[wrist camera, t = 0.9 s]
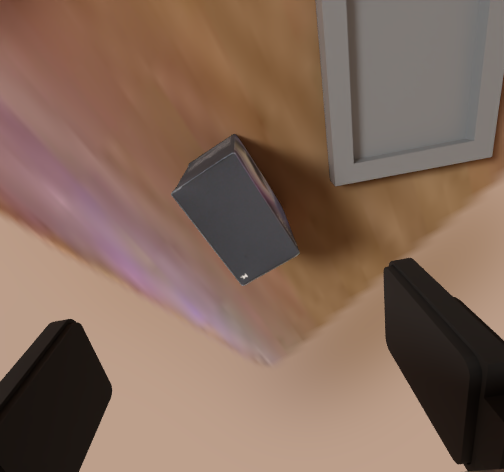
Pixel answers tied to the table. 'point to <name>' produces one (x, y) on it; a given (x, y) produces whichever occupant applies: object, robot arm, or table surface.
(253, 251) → the small box
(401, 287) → the robot arm
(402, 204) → the table surface
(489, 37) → the tray
